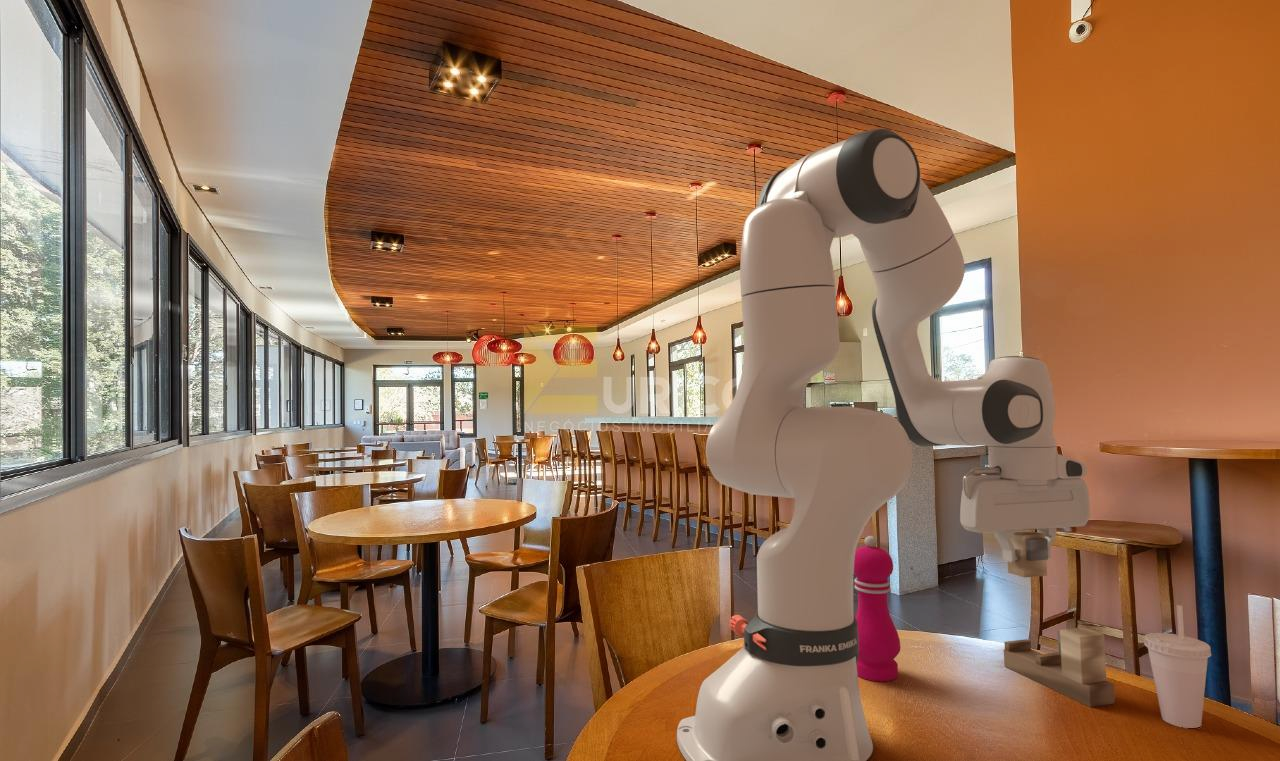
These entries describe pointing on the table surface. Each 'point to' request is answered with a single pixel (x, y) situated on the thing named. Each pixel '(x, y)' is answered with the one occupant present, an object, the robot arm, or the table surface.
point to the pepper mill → (875, 614)
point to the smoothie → (1179, 674)
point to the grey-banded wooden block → (1029, 554)
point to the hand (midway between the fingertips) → (1026, 559)
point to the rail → (1053, 674)
